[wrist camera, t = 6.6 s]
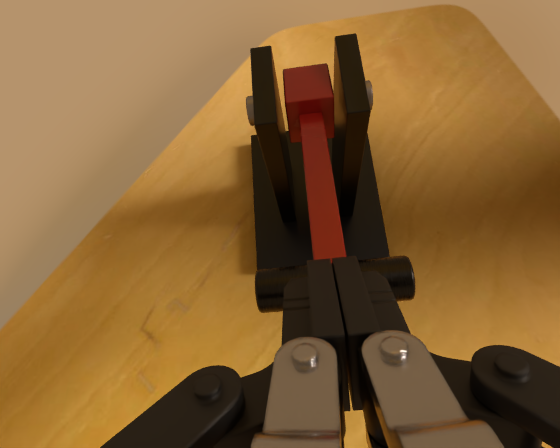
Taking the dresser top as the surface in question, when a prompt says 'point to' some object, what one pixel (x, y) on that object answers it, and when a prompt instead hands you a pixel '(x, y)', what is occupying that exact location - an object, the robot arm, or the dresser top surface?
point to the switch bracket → (290, 168)
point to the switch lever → (321, 190)
